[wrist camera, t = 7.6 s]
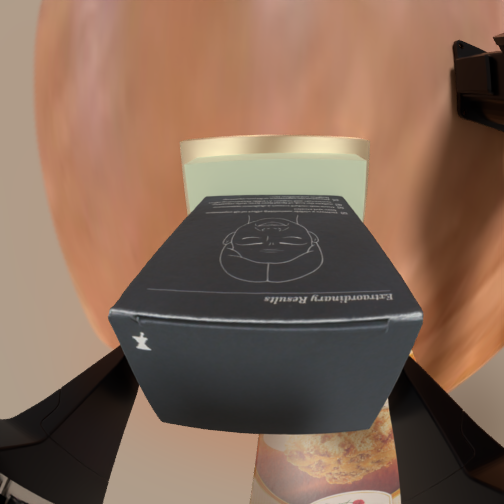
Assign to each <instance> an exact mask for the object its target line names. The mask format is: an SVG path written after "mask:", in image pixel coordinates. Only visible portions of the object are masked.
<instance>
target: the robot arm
mask: <svg viewBox="0 0 504 504" xmlns="http://www.w3.org/2000/svg"><path fill="white" fill-rule="evenodd" d="M493 39H494V41H495V42H496V44H497V45H499V47H500V49H501V51H495V52H485V51H483V50H481V49H479V48H477V47H475V46H472V45H470V44H468V43H465V42H463V41H460V40H458V41H455V42H454V51H455V67H456V84H457V101H458V115H459V116H460V118H462V119H466V120H469V121H473V122H476V123H479V124H482V125H485V126H488V127H491V128H494V129H497V130H499V131H502V132H504V33H502V34H499V35H497V36H495V37H493ZM459 45H460V46H461V48H460V47H459ZM463 110H464V111H465V114H463ZM138 387H139V383H138V381H137V379H136V377H135V375H134V373H133V371H132V369H131V367H130V364H129V362H128V360H127V358H126V356H125V354H124V352H123V349H122V347H121V345H120V346H118V347H117V348H116V349H114V350H113V351H111V352H110V353H109V354H107V355H106V356H105V357H103V358H102V359H100V360H99V361H98V362H97V363H95V364H93V365H92V366H91V367H89V368H88V369H86V370H85V371H84V372H82V373H81V374H80V375H78V376H77V377H75V378H74V379H73V380H71V381H70V382H68V383H67V384H66V385H64V386H63V387H62V388H61V389H59V390H57V391H56V392H54V393H53V394H52V395H50V396H49V397H47V398H46V399H44V400H43V401H41V402H39V403H38V404H36V405H34V406H33V407H31V408H29V409H27V410H26V411H24V412H22V413H20V414H19V415H17V416H15V417H13V418H10V419H3V420H2V419H0V504H103V500H104V497H105V493H106V489H107V486H108V481H109V478H110V475H111V471H112V468H113V465H114V462H115V458H116V455H117V452H118V449H119V446H120V442H121V439H122V436H123V433H124V430H125V427H126V424H127V421H128V418H129V416H130V413H131V410H132V407H133V404H134V401H135V398H136V395H137V392H138ZM388 405H389V413H390V419H391V424H392V430H393V437H394V443H395V450H396V458H397V466H398V474H399V484H400V496H401V504H504V448H503V447H502V446H501V445H500V444H499V443H498V442H497V441H495V440H494V439H493V438H492V437H491V436H490V435H488V434H487V433H486V432H485V431H484V430H483V429H482V428H481V427H480V426H478V425H477V424H476V423H475V422H474V421H473V420H472V419H471V418H470V417H469V416H468V414H467V413H465V411H463V409H462V408H461V407H460V406H459V405H458V404H457V403H456V402H455V401H454V400H453V399H452V398H451V397H450V396H449V395H448V394H447V393H446V392H445V391H444V390H443V389H442V387H441V386H440V385H439V384H438V383H437V382H436V381H435V380H434V379H433V378H432V377H431V376H430V375H429V374H428V373H427V372H426V371H425V370H424V369H423V368H422V367H421V366H420V365H419V364H418V363H417V362H416V361H415V360H414V359H413V358H412V357H411V356H410V355H409V356H408V358H407V360H406V362H405V364H404V367H403V369H402V371H401V373H400V375H399V377H398V379H397V381H396V383H395V385H394V387H393V389H392V392H391V393H390V395H389V397H388Z"/></svg>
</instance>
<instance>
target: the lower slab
mask: <svg viewBox="0 0 504 504" xmlns="http://www.w3.org/2000/svg"><path fill="white" fill-rule="evenodd" d="M180 150H181V160H182V170H183V180H184V189H185V197H186V205H187V213H188V215H189V214H190V206H189V199H188V191H187V183H186V175H185V167H184V164H186V163H188V162H190V161H192V160H193V159H195V158H197V157H209V156H222V155H238V154H260V153H338V154H356V155H358V156H359V157H361V158H363V159H364V160H366V161H367V164H366V184H365V199H364V212H363V223H364V216H365V207H366V196H367V185H368V171H369V154H370V141H369V140H366V139H363V138H353V137H339V136H320V135H242V136H223V137H209V138H197V139H187V140H184V141H181V142H180Z"/></svg>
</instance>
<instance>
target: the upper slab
mask: <svg viewBox="0 0 504 504" xmlns="http://www.w3.org/2000/svg"><path fill="white" fill-rule="evenodd" d="M366 164H367V161H366V160H364V159H363V158H361V157H359V156H358V155H356V154H338V153H260V154H238V155H222V156H209V157H197V158H195V159H193V160H192V161H190V162H188V163H186V164H184V167H185V175H186V183H187V191H188V199H189V206H190V213H191V212H192V211H193V210H194V209H195V207H196V206H197V205H198V204H199V203H200V202H201V201H202V200H203V199H204V198H205V197H206V196H229V195H334V196H342V197H343V198H344V199H345V200H346V201H347V202H348V204H349V205H350V206H351V208H352V209H353V210H354V212H355V213H356V214H357V215H358V217H359V218H360V219H361V221H362V222H363V212H364V199H365V184H366Z"/></svg>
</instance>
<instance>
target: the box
mask: <svg viewBox="0 0 504 504" xmlns="http://www.w3.org/2000/svg"><path fill="white" fill-rule="evenodd" d="M108 319H109V322H110V324H111V326H112V328H113V330H114V332H115V334H116V336H117V338H118V340H119V342H120V345H121V347H122V349H123V352H124V354H125V356H126V358H127V360H128V362H129V364H130V367H131V369H132V371H133V373H134V375H135V377H136V379H137V381H138V383H139V385H140V387H141V389H142V391H143V392H144V394H145V396H146V398H147V400H148V402H149V403H150V405H151V406H152V408H153V410H154V412H155V413H156V414H157V416H158V417H159V419H160V420H161V421H162V422H166V423H170V424H176V425H182V426H188V427H194V428H201V429H208V430H217V431H226V432H227V431H228V432H237V433H251V434H252V433H253V434H279V435H282V434H286V435H304V434H326V433H339V432H350V431H360V430H367V429H370V427H371V426H372V424H373V423H374V421H375V419H376V418H377V416H378V415H379V413H380V411H381V409H382V408H383V406H384V404H385V402H386V400H387V398H388V397H389V395H390V393H391V392H392V389H393V387H394V385H395V383H396V381H397V379H398V377H399V375H400V373H401V371H402V369H403V367H404V364H405V362H406V360H407V358H408V356H409V354H410V352H411V349H412V347H413V345H414V342H415V340H416V338H417V336H418V333H419V331H420V329H421V326H422V324H423V311H422V309H421V307H420V306H419V304H418V302H417V301H416V299H415V298H414V296H413V294H412V293H411V291H410V290H409V288H408V286H407V285H406V283H405V282H404V280H403V278H402V277H401V275H400V274H399V273H398V271H397V270H396V268H395V267H394V265H393V264H392V262H391V261H390V259H389V258H388V257H387V255H386V254H385V252H384V251H383V250H382V248H381V247H380V245H379V244H378V242H377V241H376V240H375V238H374V237H373V235H372V234H371V233H370V231H369V230H368V228H367V227H366V226H365V225H364V223H363V222H362V221H361V219H360V218H359V217H358V215H357V214H356V213H355V212H354V210H353V209H352V208H351V206H350V205H349V204H348V202H347V201H346V200H345V199H344V198H343V197H342V196H334V195H229V196H206V197H205V198H204V199H203V200H202V201H201V202H200V203H199V204H198V205H197V206H196V207H195V209H194V210H193V211H192V212H191V213H190V214H189V215H188V216H187V217H186V219H185V220H184V221H183V222H182V223H181V224H180V225H179V226H178V228H177V229H176V230H175V231H174V232H173V233H172V235H171V236H170V237H169V238H168V239H167V240H166V241H165V242H164V244H163V245H162V246H161V247H160V248H159V249H158V251H157V252H156V253H155V254H154V255H153V257H152V258H151V259H150V260H149V261H148V262H147V264H146V265H145V267H144V268H143V269H142V270H141V271H140V273H139V274H138V275H137V276H136V277H135V279H134V280H133V281H132V282H131V283H130V285H129V286H128V287H127V289H126V290H125V291H124V293H123V294H122V296H121V297H120V299H119V300H118V301H117V302H116V304H115V305H114V306H113V307H111V308H110V311H109V316H108Z"/></svg>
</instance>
